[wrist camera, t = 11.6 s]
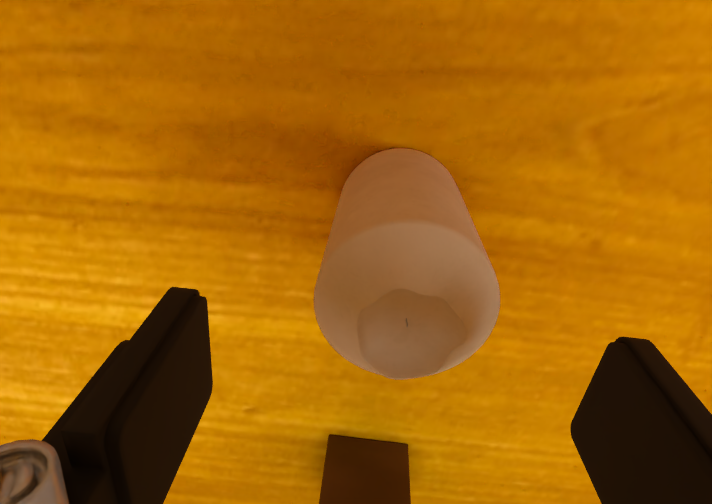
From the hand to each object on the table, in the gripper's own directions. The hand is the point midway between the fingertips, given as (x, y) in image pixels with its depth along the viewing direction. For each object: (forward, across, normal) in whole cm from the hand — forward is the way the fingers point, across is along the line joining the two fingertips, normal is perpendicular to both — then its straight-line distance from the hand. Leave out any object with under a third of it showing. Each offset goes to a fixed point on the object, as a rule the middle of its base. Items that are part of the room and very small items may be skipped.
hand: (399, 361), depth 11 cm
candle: (+12, 0, +1) cm, 12 cm away
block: (+11, -1, +19) cm, 22 cm away
